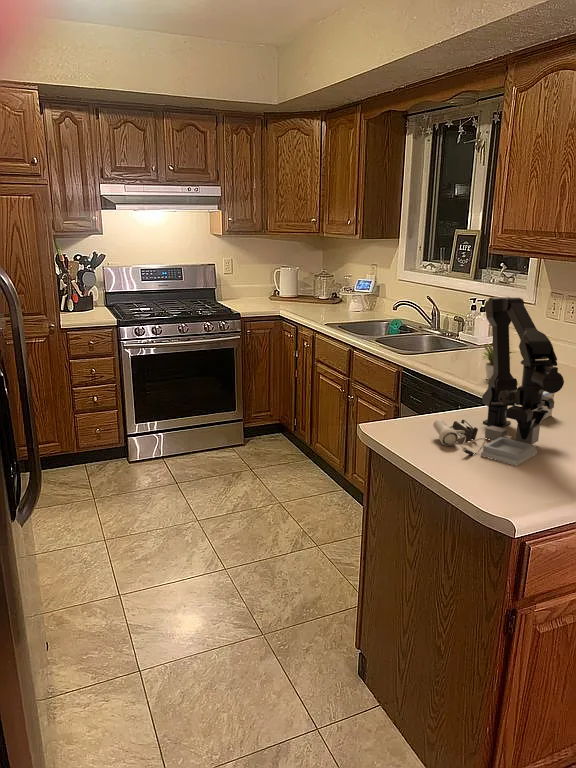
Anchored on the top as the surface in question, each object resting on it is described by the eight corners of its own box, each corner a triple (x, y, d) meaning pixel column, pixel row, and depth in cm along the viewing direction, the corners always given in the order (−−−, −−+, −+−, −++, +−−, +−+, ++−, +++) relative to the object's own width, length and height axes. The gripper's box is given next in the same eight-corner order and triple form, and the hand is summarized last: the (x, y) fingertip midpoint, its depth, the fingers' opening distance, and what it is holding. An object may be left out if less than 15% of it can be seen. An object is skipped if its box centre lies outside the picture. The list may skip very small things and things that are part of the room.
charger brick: (522, 437, 174) (524, 418, 173) (538, 441, 171) (540, 422, 170) (515, 441, 171) (517, 422, 170) (531, 445, 168) (533, 426, 167)
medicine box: (538, 413, 200) (541, 387, 198) (552, 415, 197) (555, 390, 195) (528, 418, 195) (530, 392, 193) (541, 421, 192) (544, 395, 190)
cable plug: (490, 436, 179) (491, 425, 178) (512, 442, 174) (513, 430, 173) (484, 439, 176) (485, 428, 175) (506, 445, 172) (508, 433, 171)
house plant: (490, 385, 234) (493, 344, 229) (466, 377, 246) (469, 338, 242) (518, 381, 239) (522, 341, 235) (493, 374, 251) (496, 335, 247)
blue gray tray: (501, 444, 171) (502, 435, 171) (536, 453, 165) (537, 444, 164) (480, 456, 163) (481, 446, 163) (516, 466, 156) (517, 456, 156)
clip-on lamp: (491, 464, 166) (463, 430, 181) (497, 444, 163) (469, 411, 179) (451, 463, 163) (427, 429, 179) (457, 443, 161) (432, 410, 176)
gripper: (519, 372, 179) (514, 422, 183) (489, 384, 166) (484, 438, 170) (557, 379, 171) (551, 431, 175) (529, 392, 158) (523, 448, 162)
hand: (527, 436), depth 171 cm, fingers closed on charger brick, 4 cm apart
